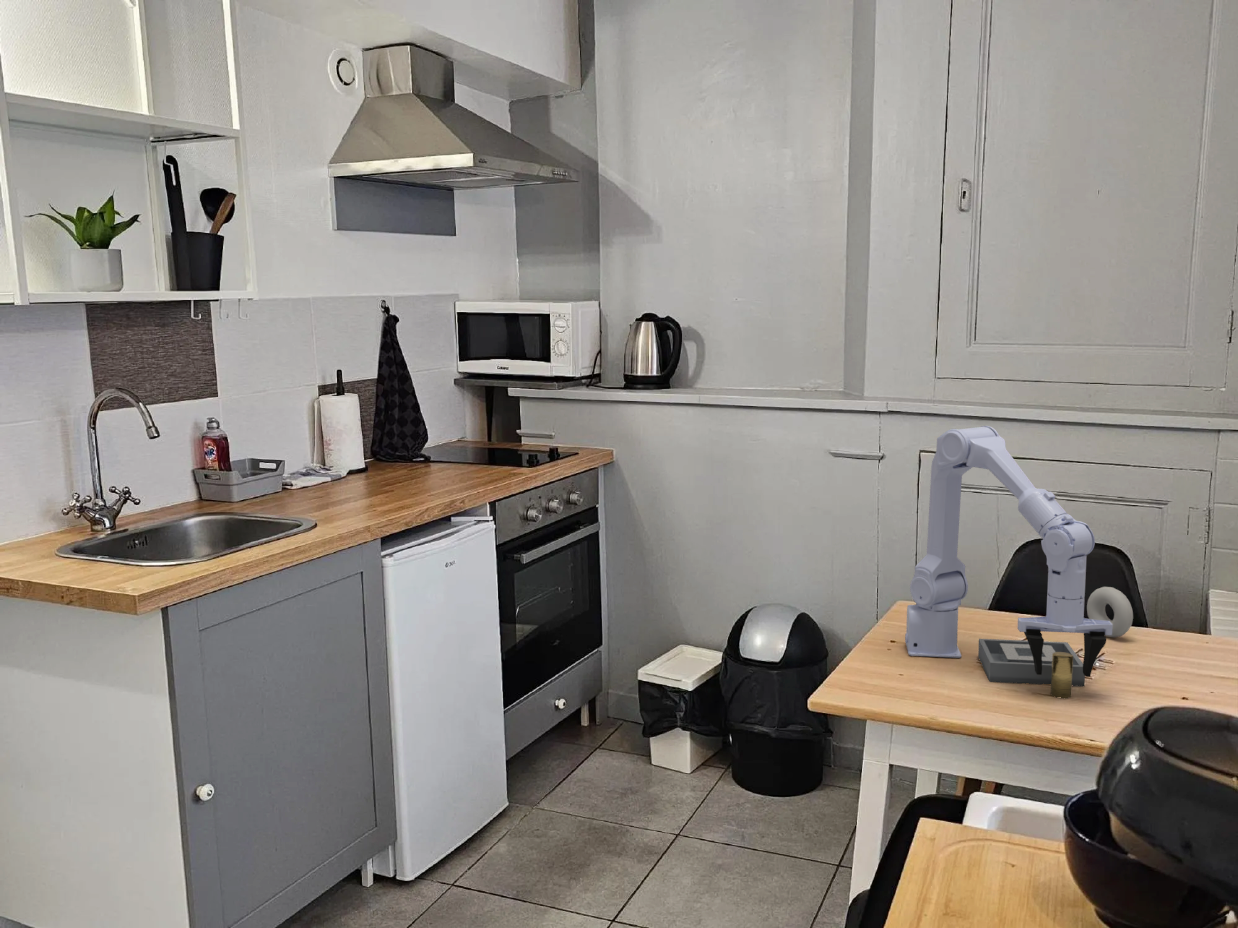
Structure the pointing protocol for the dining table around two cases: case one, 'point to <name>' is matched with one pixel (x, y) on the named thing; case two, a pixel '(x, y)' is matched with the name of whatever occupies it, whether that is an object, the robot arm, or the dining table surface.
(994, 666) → the box
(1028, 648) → the inlet
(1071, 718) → the dining table surface
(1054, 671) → the connector
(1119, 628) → the donut
